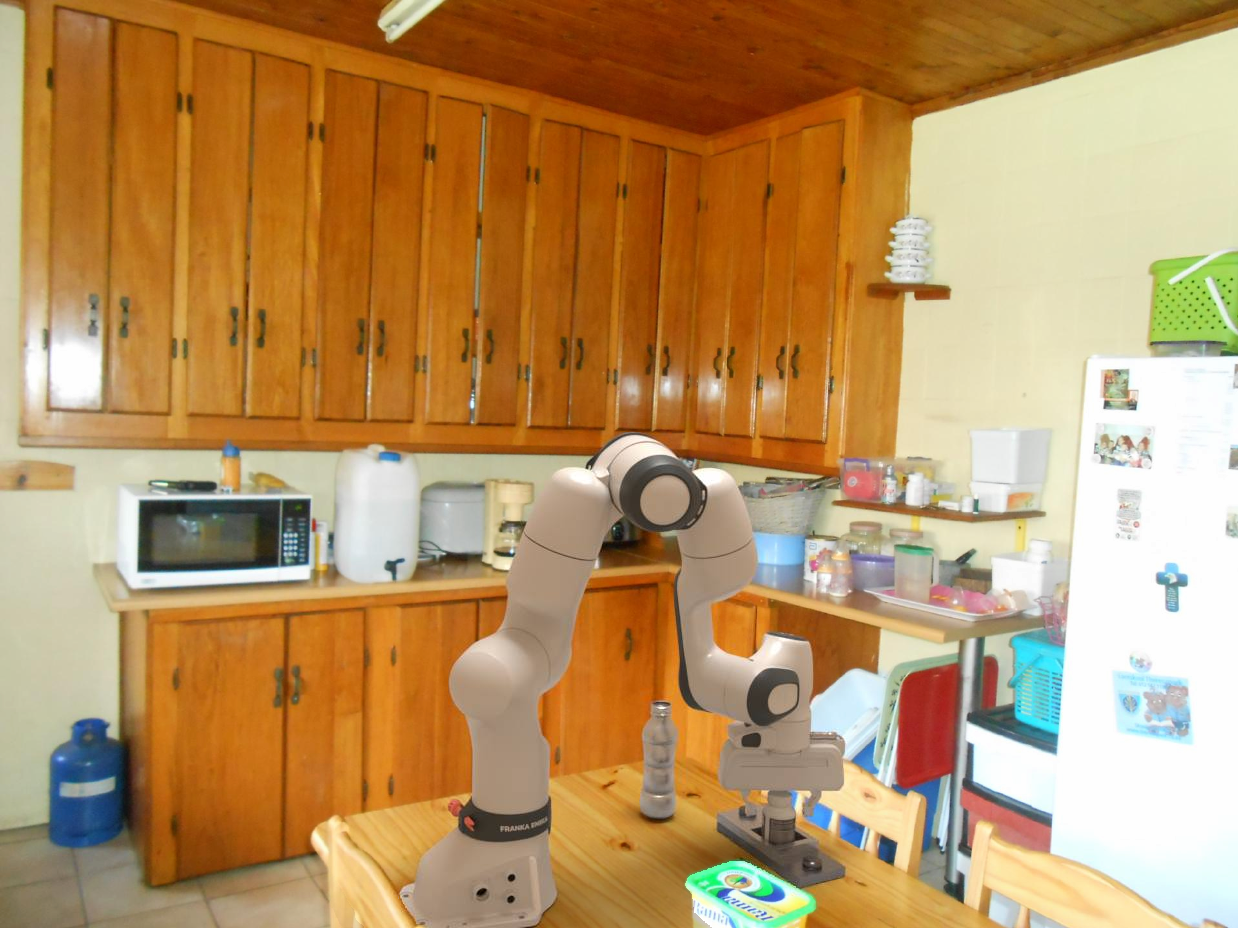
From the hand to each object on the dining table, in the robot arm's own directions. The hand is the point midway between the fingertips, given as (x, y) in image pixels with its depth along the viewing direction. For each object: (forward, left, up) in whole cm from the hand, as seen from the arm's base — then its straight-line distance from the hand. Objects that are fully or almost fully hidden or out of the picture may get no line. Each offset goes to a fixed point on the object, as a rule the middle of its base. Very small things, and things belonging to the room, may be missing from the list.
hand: (779, 815), depth 152 cm
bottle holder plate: (0, 0, -6) cm, 6 cm away
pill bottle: (0, 0, -6) cm, 6 cm away
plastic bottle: (-11, +20, -6) cm, 24 cm away
